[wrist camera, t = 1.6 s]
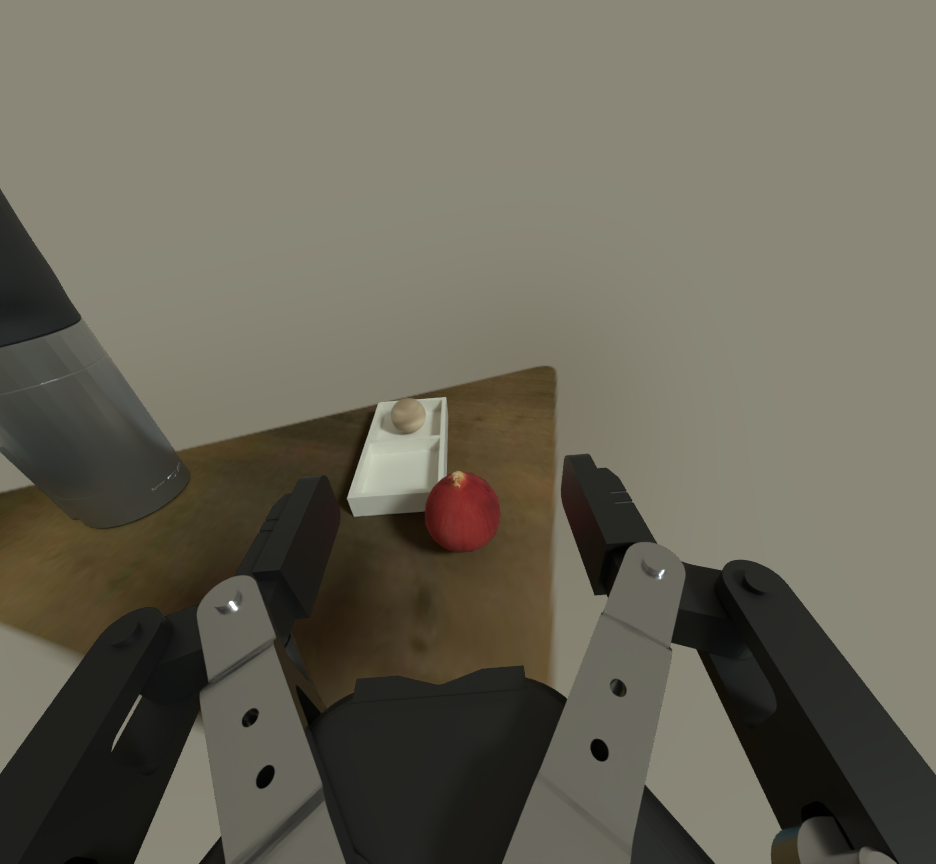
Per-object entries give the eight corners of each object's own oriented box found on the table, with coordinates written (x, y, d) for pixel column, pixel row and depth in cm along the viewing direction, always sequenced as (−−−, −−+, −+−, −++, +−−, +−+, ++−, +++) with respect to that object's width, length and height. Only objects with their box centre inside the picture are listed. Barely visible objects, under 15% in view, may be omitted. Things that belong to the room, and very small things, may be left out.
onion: (444, 510, 33) (433, 441, 28) (506, 521, 31) (506, 450, 26) (421, 565, 28) (403, 494, 23) (492, 581, 27) (488, 507, 22)
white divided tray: (353, 516, 33) (346, 498, 31) (382, 418, 46) (378, 402, 45) (445, 509, 33) (443, 491, 31) (447, 413, 46) (446, 397, 45)
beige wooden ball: (392, 441, 41) (384, 411, 38) (396, 421, 44) (390, 393, 42) (426, 438, 41) (421, 408, 38) (428, 419, 44) (424, 390, 42)
